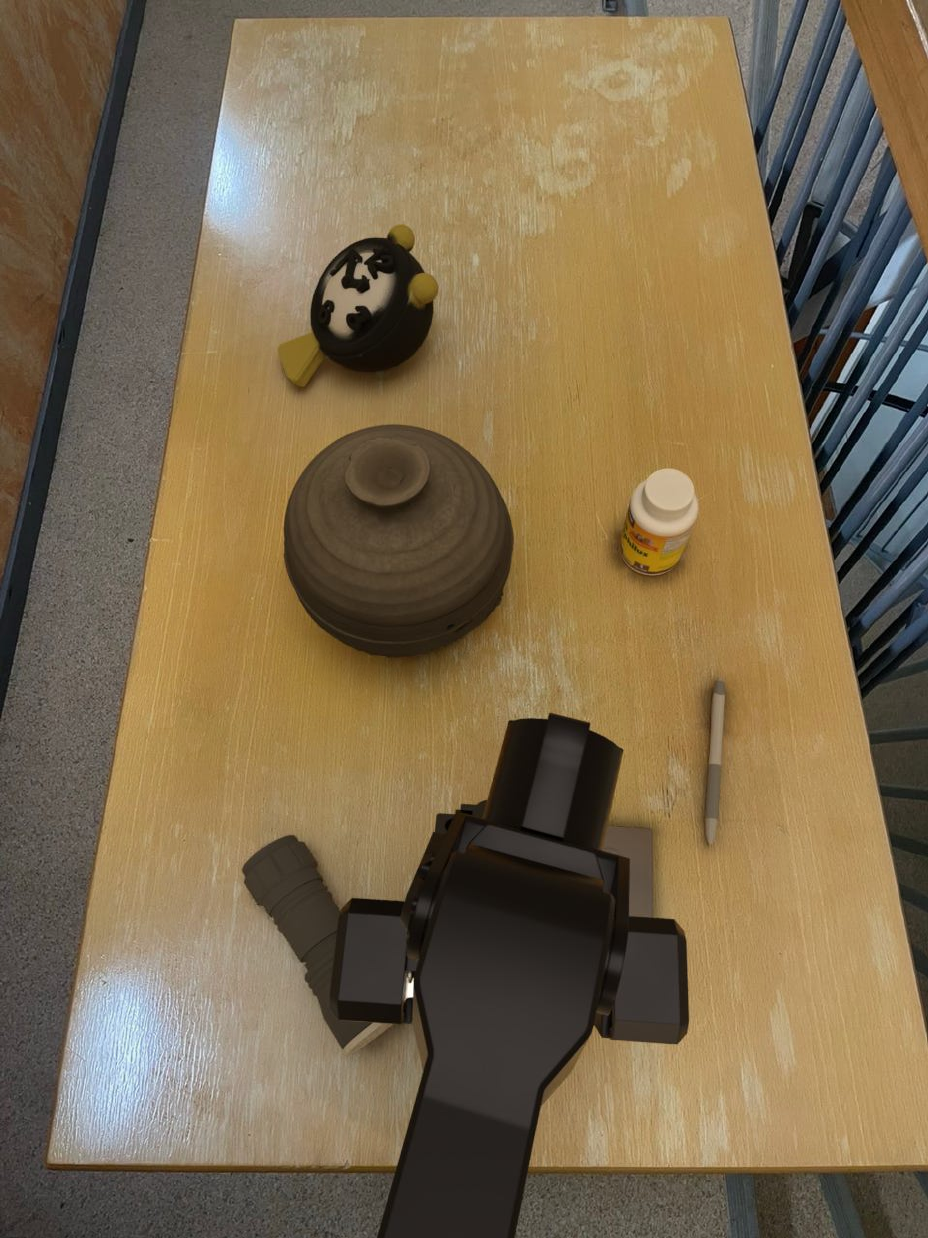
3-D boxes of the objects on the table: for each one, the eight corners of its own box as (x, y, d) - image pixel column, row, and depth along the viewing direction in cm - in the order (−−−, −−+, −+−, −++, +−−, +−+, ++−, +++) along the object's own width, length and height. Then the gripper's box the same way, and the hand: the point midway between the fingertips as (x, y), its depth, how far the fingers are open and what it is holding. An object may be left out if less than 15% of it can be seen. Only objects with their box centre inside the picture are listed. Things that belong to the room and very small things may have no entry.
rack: (650, 939, 68) (668, 927, 61) (542, 930, 69) (548, 917, 62) (650, 831, 72) (667, 809, 65) (547, 823, 72) (553, 800, 65)
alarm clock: (320, 336, 98) (333, 191, 88) (443, 383, 96) (471, 239, 86) (261, 377, 90) (267, 222, 80) (394, 430, 87) (418, 276, 77)
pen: (723, 682, 77) (727, 675, 75) (714, 849, 71) (718, 845, 70) (711, 680, 77) (715, 674, 75) (700, 847, 71) (704, 843, 70)
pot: (294, 512, 84) (266, 370, 66) (489, 504, 85) (513, 363, 67) (297, 699, 77) (266, 597, 58) (509, 686, 78) (543, 582, 60)
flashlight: (244, 878, 71) (225, 865, 66) (303, 836, 72) (289, 820, 67) (352, 1056, 65) (341, 1057, 60) (414, 1007, 67) (408, 1004, 62)
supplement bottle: (607, 537, 83) (622, 472, 73) (662, 515, 84) (683, 449, 74) (635, 587, 80) (655, 528, 71) (692, 565, 81) (718, 503, 72)
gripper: (706, 800, 46) (654, 857, 60) (335, 778, 47) (371, 839, 61) (717, 1045, 41) (658, 1044, 55) (305, 1015, 42) (351, 1022, 56)
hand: (506, 979), depth 57 cm, fingers open, 9 cm apart
